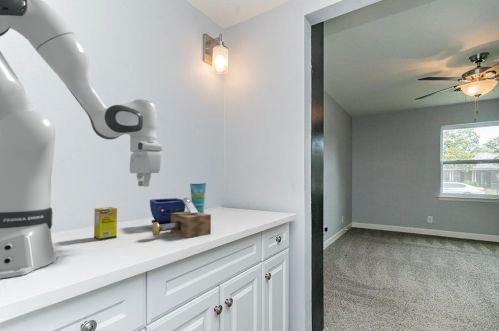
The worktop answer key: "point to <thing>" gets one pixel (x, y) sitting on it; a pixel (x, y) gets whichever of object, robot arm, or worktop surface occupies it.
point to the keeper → (190, 206)
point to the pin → (164, 227)
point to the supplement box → (105, 223)
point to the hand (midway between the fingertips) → (143, 186)
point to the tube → (198, 196)
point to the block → (192, 224)
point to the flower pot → (165, 209)
